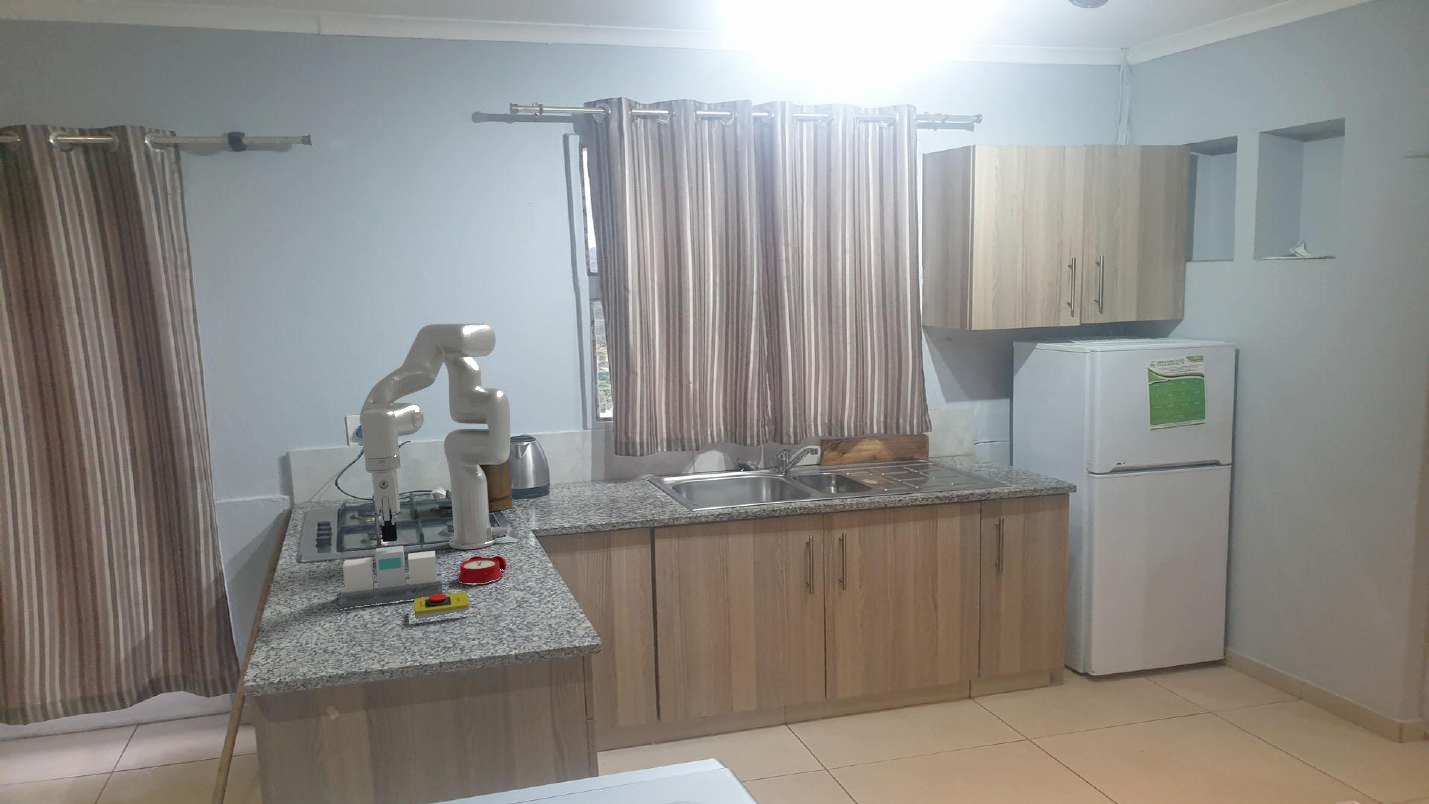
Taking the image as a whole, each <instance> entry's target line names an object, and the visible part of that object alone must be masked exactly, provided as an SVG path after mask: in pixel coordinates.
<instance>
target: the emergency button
mask: <svg viewBox="0 0 1429 804" xmlns="http://www.w3.org/2000/svg"><path fill="white" fill-rule="evenodd" d="M413 602H414V603H413V604H414V607H413V608H414V609H413V610H414V611H415V618H416V619H418V618H419V619H420V618H428V617H434V616H438V615H445V614H449V613H454V612H463V611H466V610H469V609H470V606H469V602H470V601H469V598H468V593H467V592H466V591H465V592H456V593H455V592H454V593H447V594H444V593H443V594H435V595H432V596H430V597H423V598H416V599H415V600H414V601H413Z"/></svg>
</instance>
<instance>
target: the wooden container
mask: <svg viewBox="0 0 1429 804" xmlns="http://www.w3.org/2000/svg"><path fill="white" fill-rule="evenodd" d="M478 465H479V466H480V467H481V469H482V470H483V472H484V474H485V476H486V480H487V493H488V509H489V513H492V512H499V511H503V510H507V509H509V508H511V507H512V506H513V495H512V491H513V490H512V480H511V469H510V468H511V467H510V456H509V457H508V459H507V461H506V462H504V463H502V464H497V465H483V464H478Z"/></svg>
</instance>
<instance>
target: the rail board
mask: <svg viewBox="0 0 1429 804" xmlns="http://www.w3.org/2000/svg"><path fill="white" fill-rule="evenodd" d="M435 594H444V593H443V580H442V573H440V572H439V573H437V582H429V583H421V584H413V585H410V577H409V576H408V577H407V576H406V585H403V586H394V587H386V588H378V582H377V580H374V588H373V589H370V590H362V591H354V592H345V584H343V586H342V587H341V589H340V601H339V610H340V609H344V608H350V607H355V606H364V605H371V604H376V603H377V604H378V603H389V602H393V601H400V600H411V599H416V598H422V597H430V596H432V595H435Z"/></svg>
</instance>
